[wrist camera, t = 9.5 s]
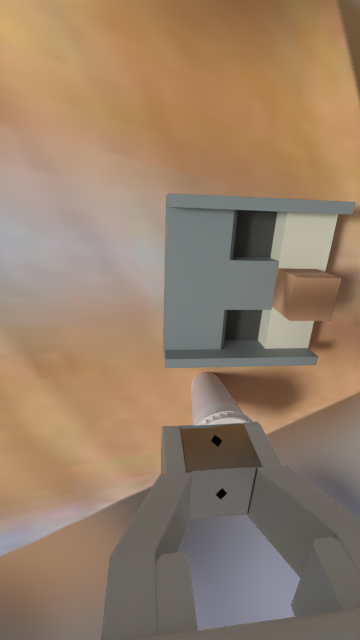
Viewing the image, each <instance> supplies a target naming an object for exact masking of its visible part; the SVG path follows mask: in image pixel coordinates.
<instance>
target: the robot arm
mask: <svg viewBox="0 0 360 640" xmlns="http://www.w3.org/2000/svg"><path fill="white" fill-rule="evenodd" d="M233 515H248V517H249V518H250V519H251V521H252V522H253V523H254V524H255V525H256V526H257V528H258V529H259V530H260V531H261V532H262V533H263V535H264V536H265V537H266V538H267V539H268V541H269V542H270V543H271V544H272V545H273V546H274V548H275V549H276V550H277V551H278V552H279V553H280V554H281V556H282V557H283V558H284V559H285V560H286V562H287V563H288V564H289V565H290V566H291V567H292V569H293V570H294V571H295V572H296V573H297V574H298V576H299V577H300V578H301V579H300V581H299V584H298V587H297V590H296V593H295V595H294V598H293V601H292V604H291V607H292V610H293V612H294V615H295V617H290V618H283V619H276V620H268V621H261V622H253V623H247V624H239V625H231V626H224V627H217V628H209V629H203V630H198V628H197V621H196V614H195V606H194V597H193V590H192V582H191V575H190V567H189V559H188V557H186V556H185V555H184V554H183V553H181V552H178V549H179V546H180V544H181V541H182V538H183V536H184V533H185V530H186V528H187V525H188V523H189V520H192V519H201V518H209V517H217V516H233ZM101 640H360V519H358V518H357V517H355V516H354V515H353V514H351V513H350V512H349V511H347V510H346V509H345V508H343V507H342V506H341V505H339V504H338V503H336V502H335V501H334V500H333V499H331V498H330V497H329V496H327V495H326V494H324V493H323V492H322V491H320V490H319V489H318V488H316V487H315V486H314V485H312V484H311V483H310V482H308V481H307V480H305V479H304V478H303V477H302V476H300V475H299V474H297V473H296V472H295V471H293V470H292V469H291V468H289V467H288V466H282V465H281V463H280V461H279V459H278V457H277V455H276V454H275V452H274V450H273V448H272V446H271V444H270V442H269V440H268V438H267V436H266V434H265V432H264V431H263V429H262V427H261V425H260V424H259V423H258V422H247V423H232V424H216V425H189V426H179V427H178V426H162V437H161V474H160V476H159V477H158V479H157V480H156V482H155V484H154V485H153V487H152V489H151V490H150V492H149V494H148V495H147V497H146V499H145V500H144V502H143V503H142V505H141V507H140V508H139V510H138V512H137V513H136V515H135V517H134V518H133V520H132V522H131V523H130V525H129V526H128V528H127V530H126V531H125V533H124V535H123V536H122V538H121V540H120V541H119V543H118V544H117V546H116V548H115V549H114V551H113V553H112V554H111V556H110V559H109V569H108V578H107V589H106V597H105V607H104V617H103V626H102V635H101Z"/></svg>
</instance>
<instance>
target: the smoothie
mask: <svg viewBox="0 0 360 640" xmlns="http://www.w3.org/2000/svg"><path fill="white" fill-rule="evenodd" d="M191 389H192V415H193V425H216V424H232V423H247V422H253V421H252V420H251V419H250V418H249V417H248V416H246V415H245V414H243V412H242V411H241V409H240V408H239V406H238V405H237V403H236V402H235V401H234V399H233V398H232V396H231V395H230V393H229V392H228V390H227V389H226V387H225V386H224V384H223V383H222V381H221V380H220V378H219V377H218V376H217V375H216V374H214V373H210V372H205V373H201V374H199V375H197V376H196V377H195V378H194V380H193V381H192V385H191Z"/></svg>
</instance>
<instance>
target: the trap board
mask: <svg viewBox="0 0 360 640" xmlns="http://www.w3.org/2000/svg"><path fill="white" fill-rule="evenodd" d="M355 203H356V202H341V201H320V200H299V199H278V198H257V197H236V196H215V195H194V194H173V193H169V194H168V195H166V236H165V288H164V340H163V349H164V358H165V367H166V368H197V367H243V366H290V365H316V363H317V359H318V356H317V355H316V354H314V353H313V352H312V351H311V350H310V349H309V348H308V346H309V342H310V337H311V333H312V328H313V324H314V321H289V320H288V319H287V318H285V317H284V316H283V315H282V314H280V313H279V312H278V311H276V310H275V309H274V308H273V307H272V302H273V296H274V290H275V284H276V278H277V272H278V268H294V269H318V270H321V271H323V272H325V271H326V266H327V262H328V258H329V253H330V249H331V244H332V240H333V236H334V231H335V227H336V222H337V218H338V214H350V215H353V211H354V207H355Z"/></svg>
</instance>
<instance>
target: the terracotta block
mask: <svg viewBox="0 0 360 640" xmlns="http://www.w3.org/2000/svg"><path fill="white" fill-rule="evenodd" d="M341 279H342V278H340V277H337V276H335V275H332V274H329V273H326V272H323V271H321V270H318V269H294V268H278V272H277V278H276V284H275V290H274V296H273V302H272V307H273V308H274V309H275V310H276V311H278V312H279V313H280V314H282V315H283V316H284V317H285V318H287V319H288V320H289V321H331V319H332V315H333V311H334V307H335V303H336V299H337V295H338V291H339V287H340V283H341Z"/></svg>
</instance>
